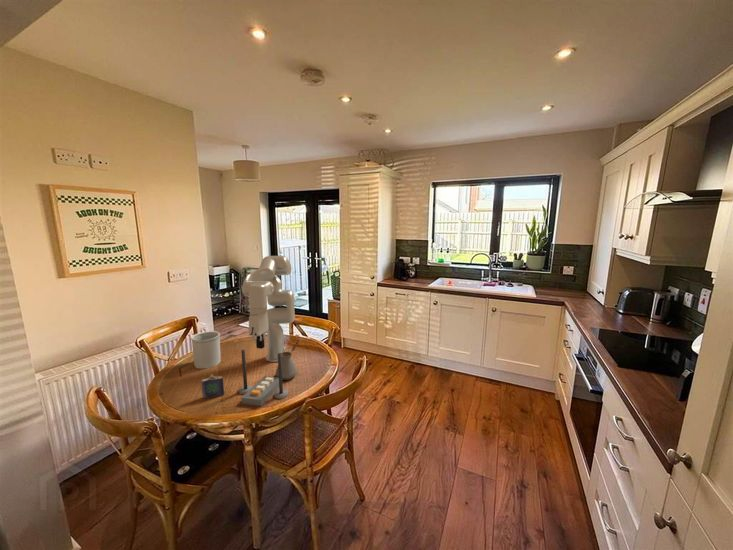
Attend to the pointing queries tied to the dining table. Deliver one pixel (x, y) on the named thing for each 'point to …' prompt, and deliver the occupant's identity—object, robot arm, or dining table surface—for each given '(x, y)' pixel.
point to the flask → (212, 387)
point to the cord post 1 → (244, 376)
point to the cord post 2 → (280, 382)
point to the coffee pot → (287, 365)
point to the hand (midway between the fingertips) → (260, 347)
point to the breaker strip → (261, 391)
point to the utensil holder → (206, 349)
